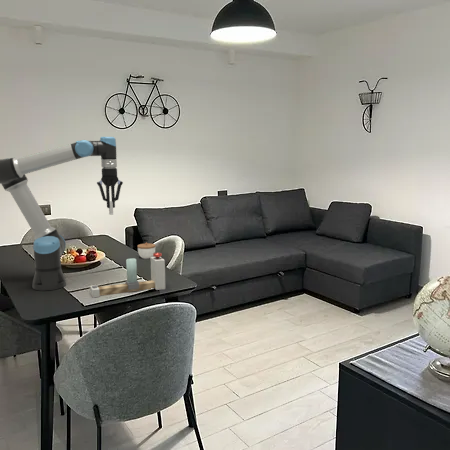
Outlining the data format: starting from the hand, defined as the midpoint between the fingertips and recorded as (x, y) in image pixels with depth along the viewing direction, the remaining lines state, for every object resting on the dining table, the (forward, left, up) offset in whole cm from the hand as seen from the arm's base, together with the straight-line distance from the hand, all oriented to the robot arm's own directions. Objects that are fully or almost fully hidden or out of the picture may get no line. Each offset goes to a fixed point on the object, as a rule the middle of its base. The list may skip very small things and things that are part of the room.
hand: (111, 214), depth 235 cm
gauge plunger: (+16, -29, -27) cm, 43 cm away
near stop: (-14, -29, -32) cm, 46 cm away
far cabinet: (+16, -29, -32) cm, 46 cm away
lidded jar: (+26, +32, -33) cm, 53 cm away
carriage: (+3, -29, -31) cm, 43 cm away
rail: (0, -29, -32) cm, 43 cm away
